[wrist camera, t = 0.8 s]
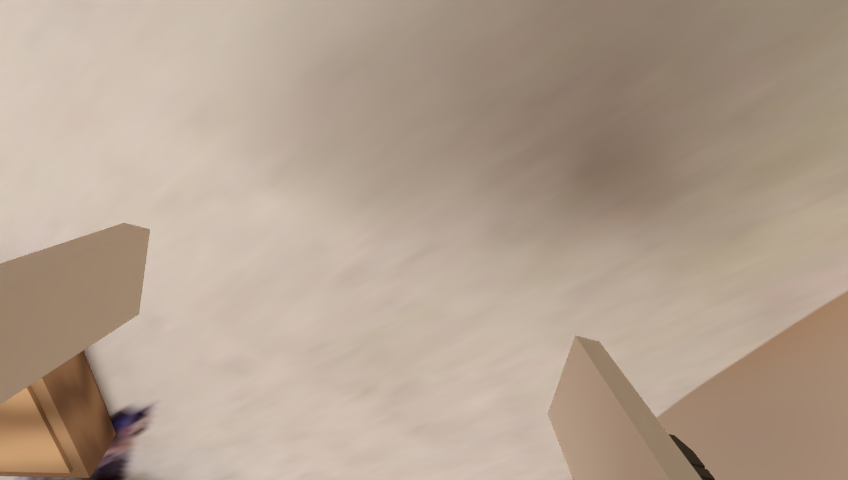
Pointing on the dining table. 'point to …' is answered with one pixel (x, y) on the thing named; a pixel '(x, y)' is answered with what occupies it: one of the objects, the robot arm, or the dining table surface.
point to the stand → (55, 425)
